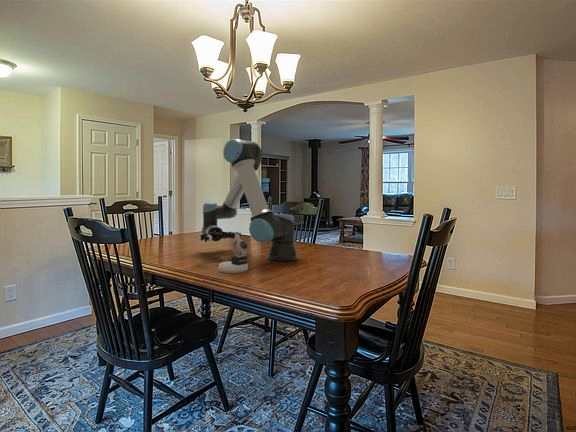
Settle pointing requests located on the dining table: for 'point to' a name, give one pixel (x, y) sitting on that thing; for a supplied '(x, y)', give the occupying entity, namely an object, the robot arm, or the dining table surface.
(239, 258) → the watch
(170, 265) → the dining table surface
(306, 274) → the dining table surface
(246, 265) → the display plinth
